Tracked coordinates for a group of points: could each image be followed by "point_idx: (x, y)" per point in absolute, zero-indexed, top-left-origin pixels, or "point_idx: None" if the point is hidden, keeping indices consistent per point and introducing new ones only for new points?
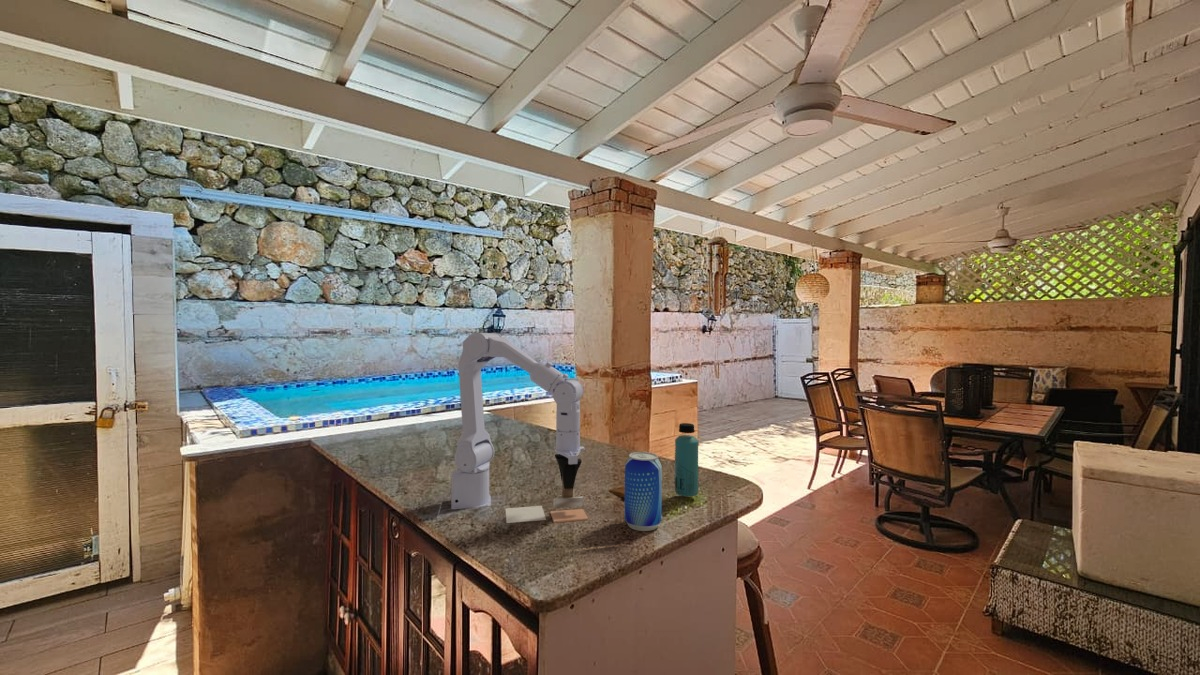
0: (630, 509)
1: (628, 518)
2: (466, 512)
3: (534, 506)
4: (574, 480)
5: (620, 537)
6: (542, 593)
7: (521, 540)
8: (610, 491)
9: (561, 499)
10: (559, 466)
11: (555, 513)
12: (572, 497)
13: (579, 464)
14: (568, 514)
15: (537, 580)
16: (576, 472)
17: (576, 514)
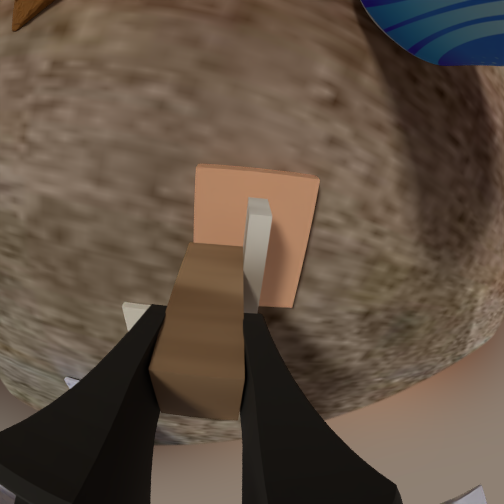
0: (489, 65)
1: (454, 65)
2: None
3: (128, 325)
4: (279, 355)
5: (463, 129)
6: (490, 334)
7: (342, 368)
8: (24, 23)
9: None
10: (150, 463)
11: None
12: (249, 274)
13: (386, 484)
14: None
15: (470, 341)
16: (318, 414)
17: None
